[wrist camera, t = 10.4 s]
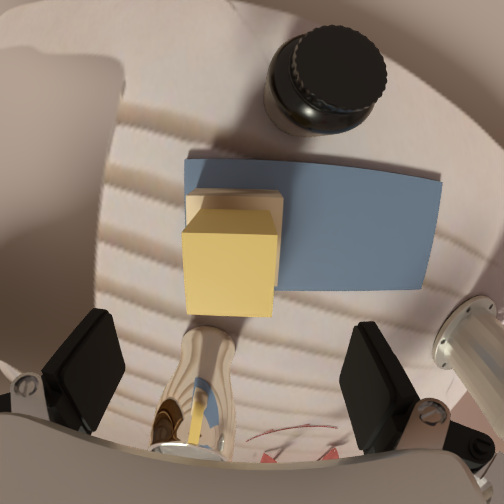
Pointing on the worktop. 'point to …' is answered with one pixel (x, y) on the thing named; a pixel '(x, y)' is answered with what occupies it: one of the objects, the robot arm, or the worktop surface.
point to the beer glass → (198, 400)
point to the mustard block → (230, 262)
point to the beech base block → (239, 206)
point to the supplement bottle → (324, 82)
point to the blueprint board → (338, 221)
